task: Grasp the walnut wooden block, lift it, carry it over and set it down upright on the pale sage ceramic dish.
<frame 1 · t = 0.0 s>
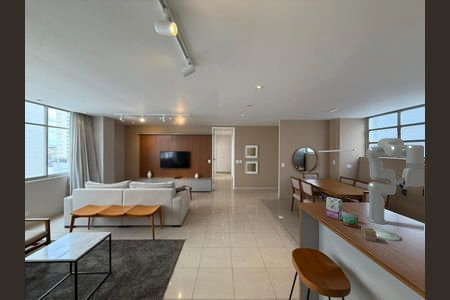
hand: (414, 196, 109), 31 cm above the worktop, fingers open, 9 cm apart
food container: (348, 226, 143), on the worktop
walnut block: (368, 238, 123), on the worktop
candy bar box: (333, 218, 159), on the worktop
dish: (385, 235, 127), on the worktop
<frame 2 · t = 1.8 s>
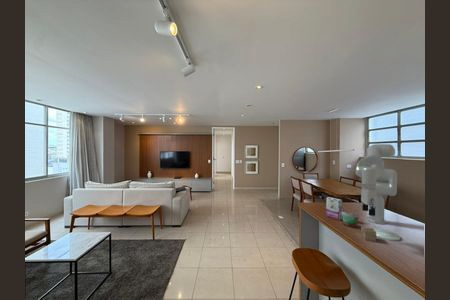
hand: (368, 213, 123), 17 cm above the worktop, fingers open, 9 cm apart
nothing on the worktop moved.
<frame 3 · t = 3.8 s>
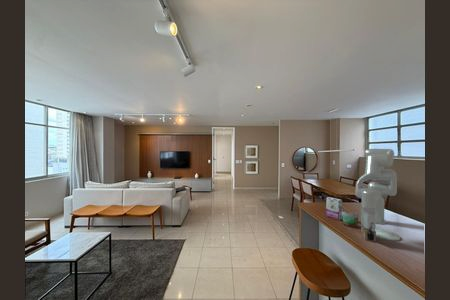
hand: (368, 237, 123), 1 cm above the worktop, fingers closed on walnut block, 6 cm apart
walnut block: (368, 238, 123), on the worktop, touching gripper
everything else where it was.
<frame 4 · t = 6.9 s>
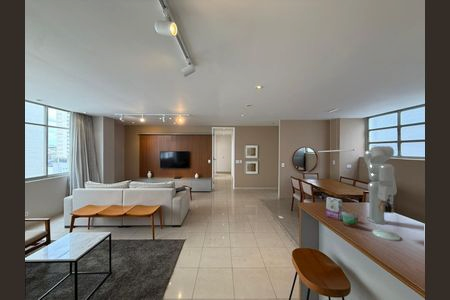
hand: (385, 210, 127), 17 cm above the worktop, fingers closed on walnut block, 6 cm apart
walnut block: (385, 211, 127), point 16 cm above the worktop, touching gripper
everything else where it was.
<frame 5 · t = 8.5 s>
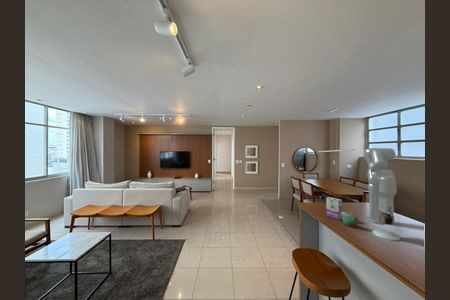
hand: (386, 221, 127), 9 cm above the worktop, fingers closed on walnut block, 6 cm apart
walnut block: (386, 223, 127), point 9 cm above the worktop, touching gripper
everything else where it was.
when the fingers open (4 cm above the worktop, at t = 10.0 s): walnut block drops 2 cm, resting on dish.
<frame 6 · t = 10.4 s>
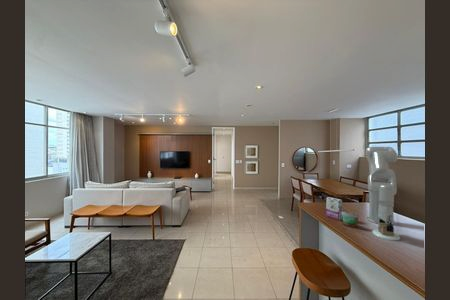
hand: (385, 228, 127), 5 cm above the worktop, fingers open, 9 cm apart
walnut block: (385, 233, 127), point 1 cm above the worktop, touching dish
everything else where it was.
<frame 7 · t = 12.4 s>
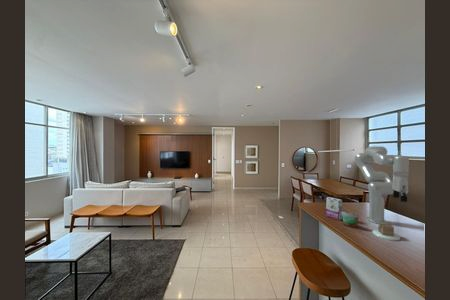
hand: (399, 199, 128), 24 cm above the worktop, fingers open, 9 cm apart
nothing on the worktop moved.
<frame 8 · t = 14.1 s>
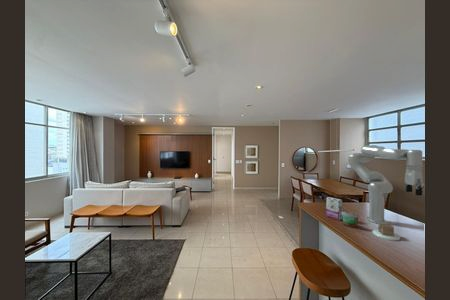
hand: (413, 193, 127), 28 cm above the worktop, fingers open, 9 cm apart
nothing on the worktop moved.
at the end: walnut block inside the target area on the dish (0.1 cm from its centre), point 1.3 cm above the dish's base; walnut block tilted 0°; the gripper is holding nothing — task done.
